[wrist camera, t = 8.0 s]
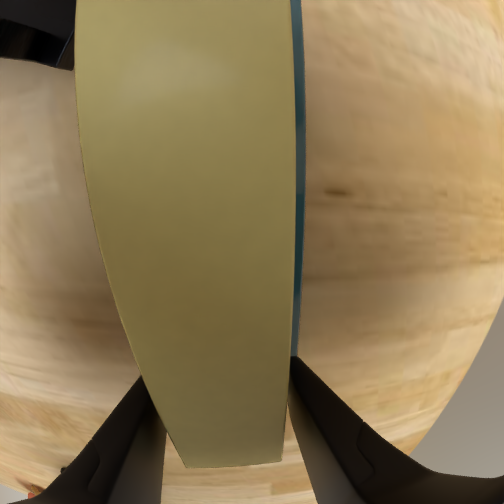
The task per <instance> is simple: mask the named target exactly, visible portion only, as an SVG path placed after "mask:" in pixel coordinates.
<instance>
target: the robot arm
mask: <svg viewBox="0 0 504 504" xmlns="http://www.w3.org/2000/svg"><path fill="white" fill-rule="evenodd" d="M287 402H288V408H289V414H290V418H291V422H292V426H293V429H294V432H295V435H296V438H297V441H298V444H299V448H300V451H301V454H302V457H303V460H304V463H305V466H306V469H307V472H308V475H309V478H310V481H311V484H312V487H313V490H314V493H315V497H316V500H317V503H318V504H504V475H503V476H500V477H497V478H477V477H467V476H458V475H450V474H443V473H438V472H434V471H432V470H430V469H428V468H426V467H424V466H422V465H421V464H419V463H418V462H416V461H415V460H413V459H412V458H410V457H409V456H407V455H406V454H404V453H403V452H402V451H400V450H399V449H397V448H396V447H394V446H393V445H392V444H390V443H389V442H388V441H386V440H385V439H384V438H382V437H381V436H380V435H379V434H378V433H377V432H376V431H374V430H373V429H372V428H371V427H370V426H369V425H368V424H367V423H366V422H363V420H362V419H361V418H360V417H359V416H358V415H357V414H356V413H355V412H354V411H353V410H352V409H351V408H350V407H349V406H348V405H347V404H346V403H345V402H344V401H343V400H341V399H340V398H339V397H338V396H337V395H336V394H335V393H334V392H333V391H332V390H331V389H330V388H329V387H328V386H327V385H326V384H325V383H324V382H323V381H322V380H321V379H320V378H319V377H318V376H317V375H316V374H315V373H314V372H313V371H312V370H311V369H310V368H309V367H308V366H307V365H306V364H305V363H304V362H303V361H302V360H301V359H300V358H299V357H298V356H290V368H289V383H288V396H287ZM166 435H167V431H166V429H165V426H164V424H163V422H162V420H161V418H160V416H159V414H158V412H157V410H156V408H155V405H154V403H153V401H152V399H151V396H150V394H149V392H148V390H147V387H146V385H145V383H144V380H143V378H142V375H141V376H140V377H139V378H138V379H137V381H136V382H135V383H134V385H133V386H132V387H131V388H130V390H129V391H128V392H127V393H126V395H125V396H124V397H123V399H122V400H121V401H120V402H119V404H118V405H117V406H116V408H115V409H114V410H113V411H112V413H111V414H110V415H109V417H108V418H107V419H106V420H105V422H104V423H103V424H102V426H101V427H100V428H99V430H98V431H97V432H96V433H95V435H94V436H93V437H92V440H90V441H89V442H88V444H87V445H86V446H85V448H84V449H83V450H82V451H81V452H80V454H79V455H78V456H77V457H76V458H75V459H74V461H73V462H72V463H71V464H70V465H69V466H68V467H67V468H66V469H65V468H61V474H60V475H59V476H58V477H57V478H56V479H55V480H54V481H53V482H52V483H51V484H50V485H49V486H48V487H47V488H46V489H45V490H44V491H43V492H41V493H40V494H38V495H37V496H35V497H32V498H29V499H25V500H21V501H18V502H13V503H9V504H161V490H162V477H163V465H164V454H165V444H166Z"/></svg>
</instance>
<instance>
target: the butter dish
mask: <svg viewBox="0 0 504 504" xmlns="http://www.w3.org/2000/svg"><path fill="white" fill-rule="evenodd" d="M290 6H291V21H292V39H293V60H294V87H295V131H296V217H295V262H294V291H293V315H292V335H291V352H290V356H297V353H298V341H299V328H300V313H301V298H302V280H303V261H304V236H305V203H306V93H305V62H304V40H303V22H302V7H301V0H290Z"/></svg>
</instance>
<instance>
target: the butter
mask: <svg viewBox="0 0 504 504" xmlns="http://www.w3.org/2000/svg"><path fill="white" fill-rule="evenodd" d="M74 58H75V90H76V106H77V118H78V128H79V137H80V146H81V153H82V161H83V167H84V174H85V180H86V186H87V191H88V197H89V202H90V207H91V212H92V217H93V222H94V226H95V231H96V235H97V239H98V243H99V247H100V251H101V255H102V259H103V263H104V267H105V270H106V274H107V277H108V281H109V284H110V288H111V291H112V294H113V298H114V301H115V304H116V307H117V310H118V313H119V316H120V319H121V322H122V325H123V328H124V331H125V334H126V336H127V339H128V342H129V345H130V347H131V350H132V353H133V355H134V358H135V360H136V363H137V366H138V368H139V371H140V373H141V375H142V378H143V380H144V383H145V385H146V387H147V390H148V392H149V394H150V396H151V399H152V401H153V403H154V405H155V408H156V410H157V412H158V414H159V416H160V418H161V420H162V422H163V424H164V426H165V429H166V431H167V433H168V435H169V437H170V438H171V440H172V442H173V444H174V446H175V448H176V450H177V452H178V454H179V456H180V457H181V459H182V461H183V463H184V465H185V466H186V468H218V467H234V466H247V465H257V464H266V463H274V462H280V461H282V453H283V443H284V432H285V421H286V409H287V396H288V383H289V368H290V352H291V335H292V315H293V291H294V262H295V217H296V131H295V87H294V60H293V39H292V21H291V6H290V0H77V1H76V15H75V46H74Z"/></svg>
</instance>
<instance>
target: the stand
mask: <svg viewBox="0 0 504 504" xmlns="http://www.w3.org/2000/svg"><path fill="white" fill-rule="evenodd" d="M76 1H77V0H0V58H6V59H14V60H22V61H29V62H36V63H40V64H43V65H47V66H50V67H54V68H58V69H64V70H69V71H72V70H73V68H74V66H75V58H74V46H75V15H76Z"/></svg>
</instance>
